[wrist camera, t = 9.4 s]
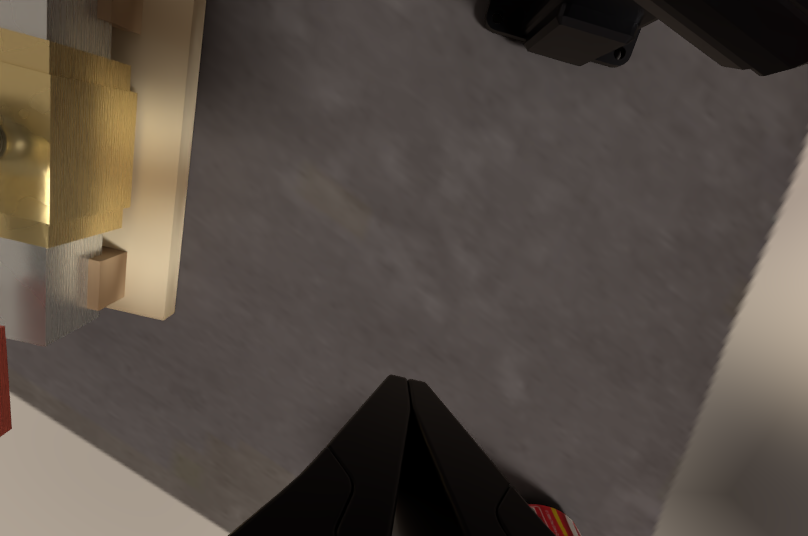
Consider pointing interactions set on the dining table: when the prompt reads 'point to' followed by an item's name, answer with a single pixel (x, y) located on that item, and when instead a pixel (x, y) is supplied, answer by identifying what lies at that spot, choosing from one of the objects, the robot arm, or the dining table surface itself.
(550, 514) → the soda can
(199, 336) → the dining table surface
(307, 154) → the dining table surface
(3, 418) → the ball valve lever
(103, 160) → the valve and pipe
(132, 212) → the birch rig board
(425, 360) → the dining table surface
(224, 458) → the dining table surface
